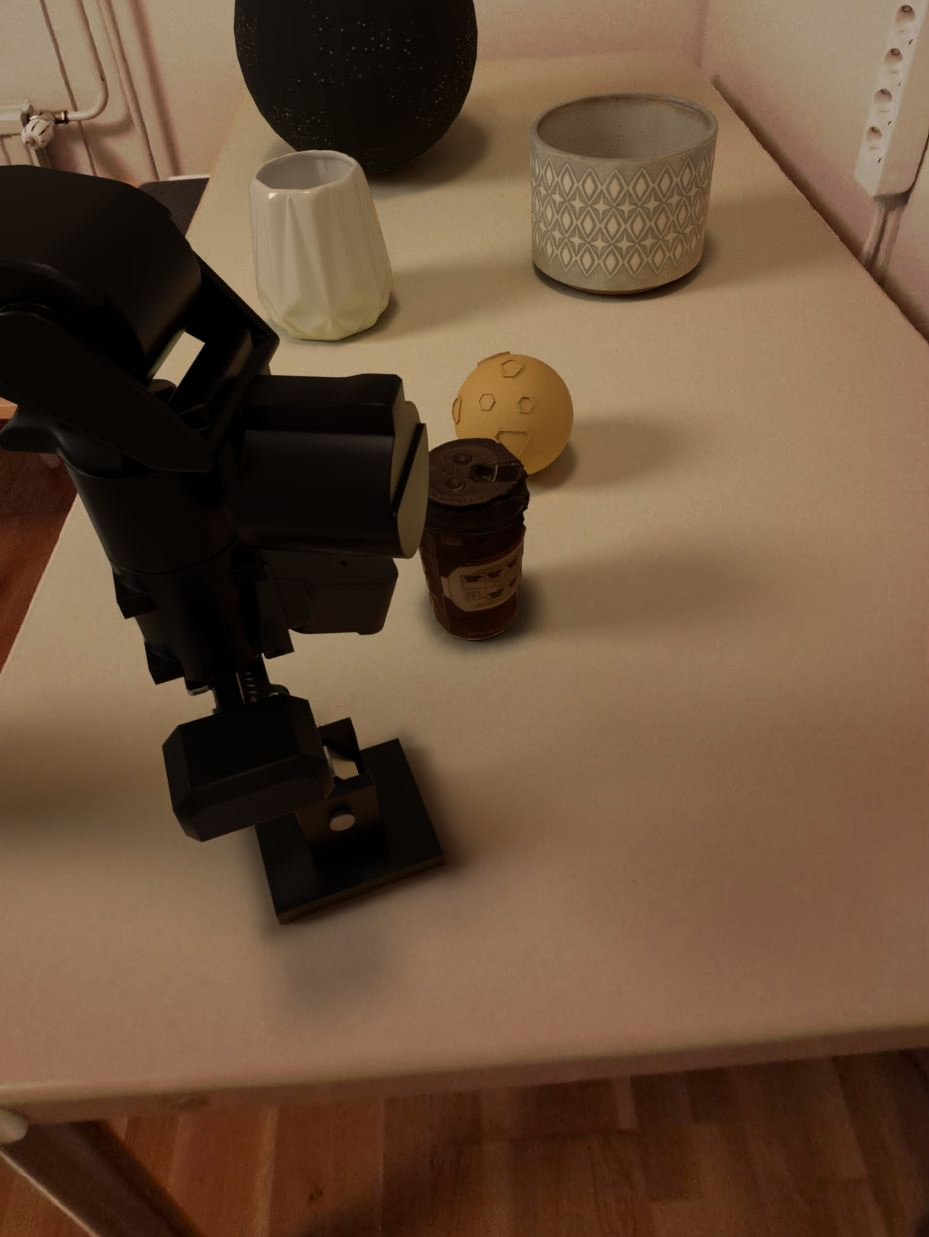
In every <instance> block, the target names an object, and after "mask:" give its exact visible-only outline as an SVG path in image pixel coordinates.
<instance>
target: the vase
mask: <svg viewBox="0 0 929 1237" xmlns="http://www.w3.org/2000/svg"><path fill="white" fill-rule="evenodd" d="M248 185H249V186H248V200H249V218H250V230H251V245H252V257H253V258H252V259H253V270H254V278H255V287H256V292H257V300H258V301H259V303H260V304H261V306H262V307H263V309H264V310H265V311H266V312H267V314H268V315H270V317H271V320H272V321H273V322H274V323H275V324H276V325H277V326H278V327H280V328H281V329H283V330H285V331H287V332H288V333H289V335H291V336H292V337H294V338H296V339H299V340H311V341H330V342H331V341H332V342H333V341H335V342H336V341H339V340H342V339H344V338H345V339H346V338H348V337H351V336H353V335H355V334H359V333H361V332H363V331H365V330H368V329H371V328H372V327H373V326H374V325H375V324H376V323H377V321H378V318H379V316H380V315H381V314H382V313H383V312H384V311H385V310H386V309H387V307H388V306H389V299H390V293H391V290H392V288H393V287H392V286H393V282H394V279H393V278H394V277H393V269H392V264H391V260H390V256H389V252H388V249H387V244H386V241H385V238H384V233H383V230H382V227H381V223H380V220H379V217H378V213H377V209H376V206H375V203H374V200H373V196H372V193H371V190H370V186H369V182H368V180H367V177H366V174H364V171H363V169H362V167H361V166H360V164H359V163H358V162H357V161H356V160H355V159H354V158H352V157H349V156H348V155H347V154H344V153H340V152H337V151H330V150H322V151H318V150H309V151H302V152H297V151H295V152H288V153H286V154H284V155H279V156H276V157H274V158H271V159H269V160H266V161H265V162H264V163H263V164H261V165H260V166H258V167H257V170H255V171H254V173H253V174H252V176H251V178H250V180H249V184H248Z"/></svg>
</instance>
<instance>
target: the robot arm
mask: <svg viewBox="0 0 929 1237" xmlns="http://www.w3.org/2000/svg"><path fill="white" fill-rule="evenodd" d="M184 333H186V334H187V335H189V336H190V337H193V338H195V339H196V340H198V341H200V342H202V343H204V344H203V346H202V347H201V348H200V350H199V352H198V353H197V355H196V356H195V358H194V359H193V361H192V363H191V364H190V365H189V367H188V369H187V371H186V372H185V373H184V376H183V377H182V379H180V381H179V383H178V384H176V383H174V382H173V381H171V380H168V379H166V378H155V377H156V375H157V373H158V372H159V370H160V368H161V367H162V366H163V364H164V363H165V361H166V360H167V358H168V357H169V355H170V354H171V352H172V351H173V350H174V348H175V347H176V345H177V343H178V342H179V341H180V339H181V337H182V336H183V334H184ZM280 345H281V338H280V336H279V334H278V333H277V332H276V331H275V330H274V329H273V328H272V327H271V326H270V325H269V324H268V323H267V322H266V321H265V320H264V319H263V317H261V316H260V315H259V314H258V313H257V312H256V311H255V310H254V309H253V308H252V307H251V306H250V305H249V304H248V303H247V302H246V301H245V300H244V299H243V298H242V297H241V296H240V295H239V294H238V293H237V292H236V291H235V290H234V289H233V287H231V286H230V285H229V284H228V283H227V282H226V281H225V280H224V279H223V278H222V277H221V276H220V275H219V274H218V273H217V272H216V271H215V270H214V269H213V268H212V267H211V266H210V265H209V264H208V262H206V261H205V260H204V259H203V258H202V257H201V256H200V255H199V254H198V253H197V252H196V251H195V250H194V249H193V247H192V245H191V243H190V242H189V240H188V239H187V238H186V236H185V235H184V233H183V232H182V231H181V229H180V228H179V227H178V225H177V224H176V223H175V221H174V216H173V213H172V211H171V210H170V209H169V208H168V206H166V205H165V204H163V203H162V202H161V201H159V200H158V199H157V198H156V197H154V196H153V195H151V194H149V193H148V192H147V191H144V190H142V189H140V188H138V187H137V186H134V185H132V184H130V183H128V182H124V181H120V180H117V179H113V178H109V177H102V176H97V175H92V174H86V173H79V172H73V171H68V170H62V169H55V168H51V167H45V166H39V165H33V164H5V165H0V399H3V400H6V401H8V402H9V403H12V404H13V405H16V409H15V410H14V413H13V415H11V418H10V419H9V421H8V422H6V424H5V425H4V427H2V429H1V430H0V448H1V449H2V450H3V451H5V452H9V453H25V454H41V455H42V454H44V455H56V456H59V457H61V458H62V460H63V463H64V465H65V467H66V469H67V472H68V474H69V476H70V478H71V481H72V482H73V485H74V487H75V489H76V492H77V494H78V495H79V498H80V500H81V502H82V505H83V506H84V509H85V510H86V513H87V516H88V518H89V519H90V522H91V524H92V527H93V529H94V531H95V534H96V535H97V538H98V540H99V541H100V544H101V547H102V549H103V551H104V554H105V556H106V559H107V560H108V562H109V564H110V567H111V572H112V579H113V586H114V593H115V599H116V600H115V601H116V604H117V605H118V608H119V610H120V612H121V614H122V616H123V618H124V620H129V619H132V618H134V619H135V621H136V624H137V626H138V628H139V630H140V633H141V635H142V639H143V640H142V641H143V645H144V651H145V657H146V664H147V670H148V672H149V674H150V676H151V678H152V681H153V683H154V685H155V686H158V685H162V684H165V683H168V682H171V681H172V682H173V681H175V680H178V679H181V678H183V681H184V686H185V690H186V693H187V694H188V696H189V697H190V696H191V697H196V696H199V695H203V694H206V693H207V692H210V691H211V692H212V689H213V686H214V688H215V692H216V696H217V701H218V705H219V707H217V708H216V707H213V708H212V709H211V713H212V714H209V715H207V716H203V717H199V718H197V719H194V720H191V721H187V722H184V723H181V724H178V725H177V726H176V727H175V728H174V729H173V730H172V731H171V733H170V734H169V735H168V737H167V738H166V739H165V741H164V742H163V743H162V745H161V750H162V755H163V762H164V767H165V772H166V780H167V785H168V791H169V797H170V803H171V807H172V812H173V815H174V816H175V818H176V821H177V822H178V824H179V827H180V828H181V829H182V832H183V833H184V835H185V836H186V837H188V838H190V839H192V840H195V841H197V842H199V843H205V842H208V841H211V840H213V839H216V838H220V837H222V836H226V835H229V834H231V833H235V832H238V831H241V830H243V829H246V828H250V827H252V826H253V827H254V825H256V824H259V823H262V822H265V821H268V820H271V819H274V818H277V817H280V816H283V815H286V814H289V813H291V812H294V811H297V810H300V809H303V808H306V807H309V806H312V805H315V804H318V803H321V802H324V801H326V799H327V797H328V796H329V794H330V793H331V791H332V790H333V788H334V787H335V785H334V781H333V778H332V774H331V771H330V767H329V764H328V760H327V757H326V754H325V751H324V748H323V745H322V741H321V738H320V735H319V732H318V729H317V727H318V726H317V723H316V720H315V717H314V714H313V710H312V708H311V704H310V701H309V699H306V698H303V697H301V696H297V695H292V694H291V693H290V691H289V689H288V687H286V686H285V685H283V684H280V683H279V684H278V683H272V682H271V681H270V678H269V674H268V670H267V667H266V664H265V661H264V658H265V659H266V660H273V659H276V658H279V657H282V656H286V655H289V654H292V653H295V648H294V645H293V644H294V643H293V641H292V637H291V634H290V630H291V631H292V632H295V633H297V634H302V635H325V634H326V635H328V634H349V633H352V634H353V633H357V634H358V635H359V636H373V635H376V634H378V633H380V632H381V631H382V630H383V629H384V627H385V623H386V619H387V616H388V613H389V610H390V606H391V602H392V599H393V596H394V593H395V588H396V587H397V586H396V585H397V582H398V578H399V575H400V574H399V573H400V572H399V569H398V567H397V565H396V563H395V560H394V559H401V560H411V559H413V558H414V556H415V555H416V554H417V552H418V547H419V544H420V541H421V537H422V533H423V528H424V523H425V516H426V509H427V499H428V486H429V452H430V450H429V448H430V446H429V435H428V434H429V433H428V426H427V423H426V422H422V421H421V417H420V413H419V410H418V408H417V406H416V403H414V402H413V401H411V400H406V397H405V388H404V387H405V386H404V382H403V378H402V377H400V376H399V374H397V373H376V372H375V373H374V372H367V373H365V372H364V373H358V374H353V375H348V376H315V375H291V374H290V375H289V374H287V375H286V374H272V371H271V366H270V364H271V361H272V360H273V358H274V357H275V353H277V350H278V348H279V346H280Z"/></svg>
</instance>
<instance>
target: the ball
mask: <svg viewBox="0 0 929 1237" xmlns="http://www.w3.org/2000/svg"><path fill="white" fill-rule="evenodd" d="M475 7H476V6H475V2H474V0H234V11H233V35H234V44H235V51H236V52H235V53H236V58H237V61H238V63H239V67H240V72H241V74H242V77H243V81H244V83H245V86H246V88H247V90H248V93H249V94H250V96H251V98H252V100H253V102H254V105H255V106H256V108H257V110H258V113H259V114H260V115H261V116H262V117H263V119H264V120H265V122H266V123H267V124H268V125H269V127H270V128H271V129H272V130H273V132H274V133H275V134H276V135H277V136H278V137H279V138H281V139H282V140H283V141H284V142H285V143H286V144H288V145H289V146H290V147H291V148H292V149H293V150H295V152H302V151H309V150H318V151H322V150H330V151H337V152H340V153H344V154H347V155H348V156H349V157H352V158H354V159H355V160H356V161H357V162H358V163H359V164H360V166H361V167H362V169H363V171H364V174H365V175H366V174H367V175H369V174H380V173H384V172H389V171H393V170H395V169H398V168H401V167H403V166H406V165H408V164H409V163H411V162H413V161H415V160H417V159H418V158H420V157H422V156H423V155H425V154H426V153H427V152H429V151H430V150H431V149H432V148H433V147H434V146H435V145H436V144H437V143H438V142H439V141H440V140H441V139H443V137H444V136H445V135H446V134H447V133H448V131H449V129H450V128H451V127H452V126H453V124H454V122H455V121H456V119H457V118H458V116H459V115H460V114H461V112H462V109H463V107H464V104H465V102H466V100H467V98H468V95H469V92H470V90H471V86H472V82H473V78H474V73H475V69H476V64H477V60H478V40H479V39H478V38H479V37H478V36H479V30H478V22H477V15H476V8H475Z"/></svg>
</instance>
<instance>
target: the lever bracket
mask: <svg viewBox="0 0 929 1237" xmlns="http://www.w3.org/2000/svg"><path fill="white" fill-rule="evenodd" d="M317 729H318V732H319V735H320V738H321V741H322V745H323V747H324V746H325V745H326V746H328V747H330V748H331V749H333V750H335V751H336V752H338V753H340V754H341V755H343V756H345V757H346V758H348V759H350V760H351V761H353V762H354V763H355V765H356V768H357V771H358V774H359V775H356V776H353V777H350V778H347V779H344V780H341V781H338V782H335V783H334V785H335V787H334V788H333V790H332V791H331V793H330V794H329V796H328V797H327V799H326V801H324V802H321V803H318V804H315V805H312V806H309V807H306V808H303V809H300V810H297V811H294V812H291V813H289V814H286V815H283V816H280V817H277V818H274V819H271V820H268V821H265V822H262V823H259V824H256V825H253V827H254V831H255V835H256V839H257V843H258V848H259V851H260V855H261V856H260V857H261V861H262V864H263V869H264V872H265V873H264V874H265V877H266V881H267V885H268V890H269V893H270V898H271V902H272V905H273V910H274V914H275V917H276V919H277V922H278V923H279V926H280V925H283V924H287V923H289V922H291V921H292V922H293V921H295V920H297V919H300V918H302V917H305V916H309V915H310V914H314V913H316V912H319V911H322V910H325V909H327V908H330V907H333V906H335V905H339V904H341V903H344V902H347V901H350V900H352V899H355V898H357V897H360V896H363V895H367V894H369V893H371V892H374V891H377V890H381V889H383V888H385V887H389V886H390V885H393V884H396V883H399V882H402V881H405V880H407V879H410V878H413V877H415V876H418V875H421V874H423V873H424V874H425V873H427V872H429V871H432V870H436V869H437V868H441V867H443V866H446V864H447V862H446V856H445V855H446V854H445V853H444V850H443V846H442V845H441V842H440V839H439V838H438V835H437V832H436V830H435V827H434V825H433V821H432V819H431V817H430V814H429V812H428V809H427V806H426V804H425V802H424V798H423V797H422V794H421V792H420V789H419V786H418V783H417V781H416V779H415V776H414V774H413V772H412V769H411V766H410V764H409V761H408V759H407V755H406V754H405V751H404V748H403V746H402V743H401V740H400V738H399V737H396V738H393V739H390V740H387V741H384V742H381V743H378V744H375V745H372V746H369V747H366V748H363V749H360V745H359V741H358V737H357V733H356V728H355V726H354V723H353V721H352V718H351V716H348V717H345V718H342V719H338V720H335V721H333V722H329V723H326V724H323V725H320V726H317Z"/></svg>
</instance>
